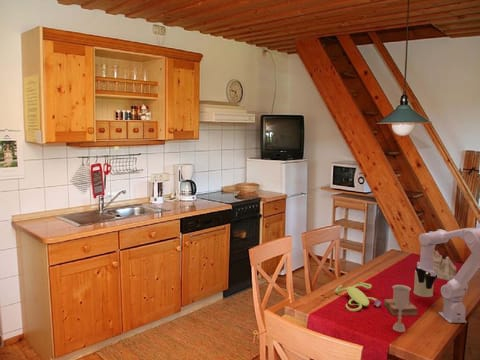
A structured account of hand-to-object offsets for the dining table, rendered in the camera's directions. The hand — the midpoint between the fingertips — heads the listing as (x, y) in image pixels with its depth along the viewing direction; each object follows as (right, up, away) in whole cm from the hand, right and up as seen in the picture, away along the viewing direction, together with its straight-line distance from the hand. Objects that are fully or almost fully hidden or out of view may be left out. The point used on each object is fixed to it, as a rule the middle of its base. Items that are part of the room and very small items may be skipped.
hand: (424, 285), depth 202 cm
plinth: (-14, -10, -5) cm, 18 cm away
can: (+5, -8, +14) cm, 17 cm away
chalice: (-21, -13, -23) cm, 34 cm away
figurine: (-30, -9, +6) cm, 32 cm away
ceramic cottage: (+29, -5, +41) cm, 51 cm away
